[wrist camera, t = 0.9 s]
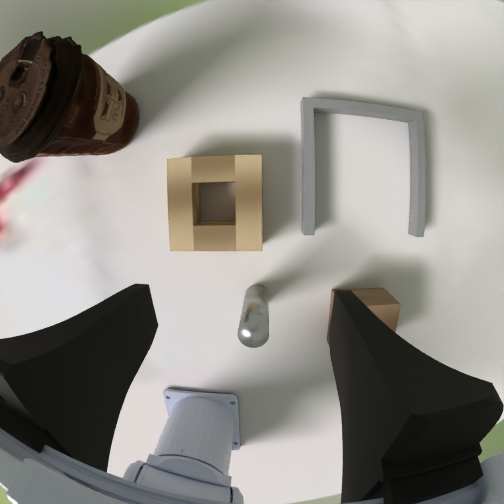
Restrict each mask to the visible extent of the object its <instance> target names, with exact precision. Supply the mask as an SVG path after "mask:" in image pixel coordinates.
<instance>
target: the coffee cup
mask: <svg viewBox="0 0 504 504" xmlns="http://www.w3.org/2000/svg"><path fill="white" fill-rule="evenodd" d="M138 123H139V109H138V105H137V103H136V101H135V99H134V98H133V97H132V96H130V95H129V94H128V93H126V92H124V90H123V88H122V87H121V85H120V84H119V83H118V82H117V81H116V80H115V79H113V78H112V77H111V76H110V75H109V74H107V73H106V71H105V70H104V69H103V68H102V67H101V66H100V65H99V64H97V63H96V62H95V61H94V60H93V59H92V58H91V57H89V56H88V55H85V54H82V51H81V46H80V45H77V44H76V43H75V42H74V41H73V40H72V38H71V36H70V37H67V38H64V39H62V38H61V37H60V36H56V37H52V38H48V39H47V38H45V36H44V35H43V32H37V33H35V34H34V35H32V36H29V37H25V38H24V39H23V40H22V41H21V42H20V43H19V44H18V45H17V46H16V47H15V48H14V49H13V50H12V51H10V52H9V53H8V54H7V55H6V56H5V57H4V58H2V60H1V62H0V154H1V155H2V156H4V157H5V158H6V159H8V160H10V161H12V162H14V163H19V162H21V161H24V160H27V159H31V158H34V157H43V156H45V157H48V156H77V155H105V154H111V153H114V152H116V151H119V150H120V149H122V148H124V147H125V146H127V145H128V143H129V142H130V140H131V139H132V137H133V136H134V134H135V132H136V130H137V127H138Z"/></svg>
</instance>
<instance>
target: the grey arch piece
mask: <svg viewBox="0 0 504 504" xmlns="http://www.w3.org/2000/svg"><path fill="white" fill-rule="evenodd" d="M314 112H321V113H336V114H347V115H357V116H366V117H375V118H382V119H389V120H396V121H402V122H408V123H409V138H410V174H411V180H410V216H409V232H408V234H410V235H413V236H415V237H424V224H425V205H426V149H425V131H424V118H423V112H419V111H414V110H409V109H403V108H398V107H392V106H386V105H379V104H372V103H364V102H356V101H347V100H336V99H323V98H306V97H303V98H302V100H301V131H302V233H303V234H304V235H314V231H315V138H314Z"/></svg>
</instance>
